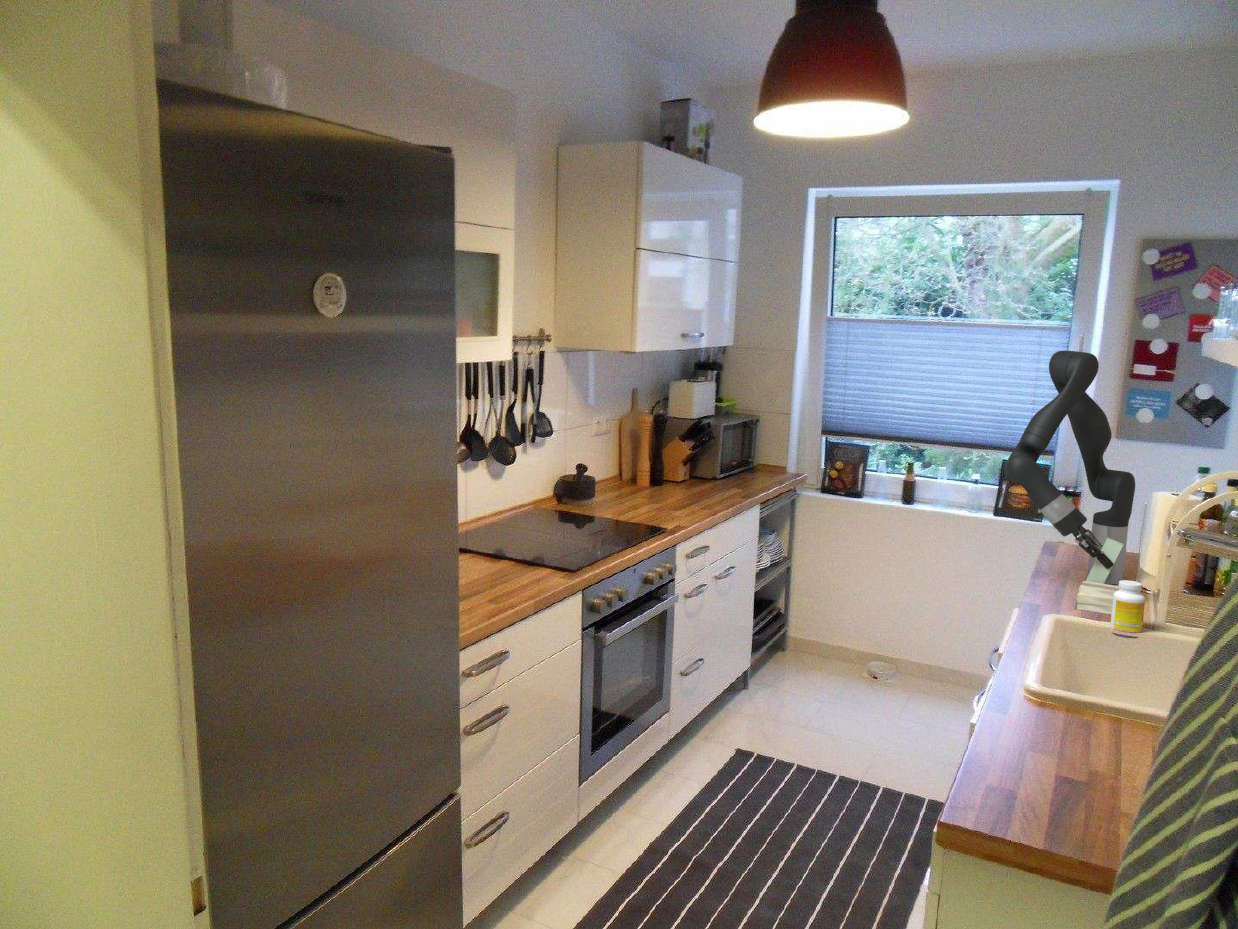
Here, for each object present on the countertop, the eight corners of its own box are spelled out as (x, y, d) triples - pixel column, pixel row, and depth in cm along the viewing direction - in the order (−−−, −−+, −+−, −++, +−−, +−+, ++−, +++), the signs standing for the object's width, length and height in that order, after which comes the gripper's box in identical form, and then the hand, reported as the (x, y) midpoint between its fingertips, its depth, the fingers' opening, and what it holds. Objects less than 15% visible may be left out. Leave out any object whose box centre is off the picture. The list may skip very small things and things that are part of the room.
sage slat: (1080, 590, 233) (1107, 537, 229) (1096, 597, 231) (1123, 544, 227) (1080, 591, 232) (1106, 538, 227) (1095, 598, 230) (1123, 545, 225)
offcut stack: (1077, 602, 230) (1079, 580, 229) (1118, 608, 225) (1120, 586, 224) (1074, 609, 223) (1076, 586, 223) (1117, 615, 218) (1119, 592, 218)
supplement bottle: (1145, 640, 204) (1151, 587, 203) (1115, 638, 206) (1120, 585, 204) (1135, 631, 211) (1140, 580, 209) (1105, 629, 212) (1110, 578, 211)
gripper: (1072, 510, 225) (1122, 563, 220) (1077, 502, 237) (1124, 552, 232) (1048, 527, 229) (1097, 580, 224) (1054, 519, 240) (1100, 568, 235)
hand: (1110, 565), depth 228 cm, fingers closed on sage slat, 1 cm apart
